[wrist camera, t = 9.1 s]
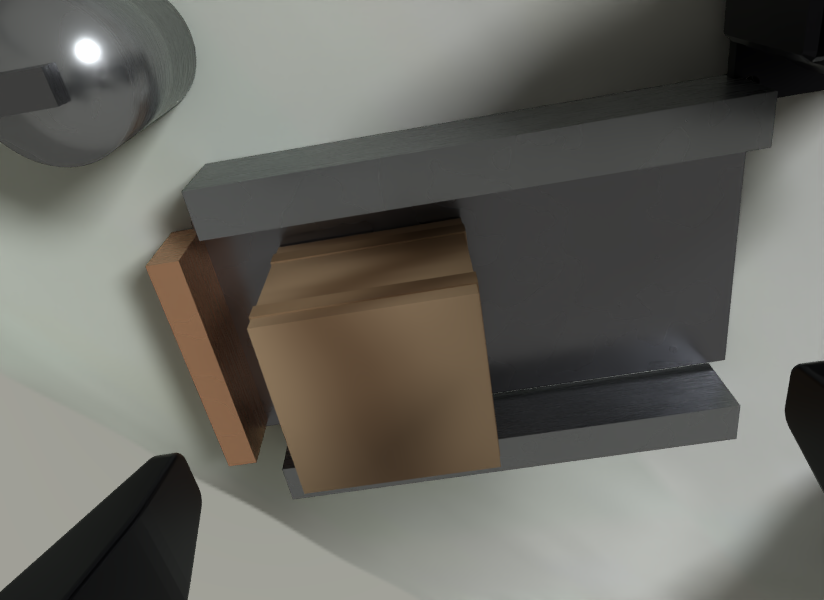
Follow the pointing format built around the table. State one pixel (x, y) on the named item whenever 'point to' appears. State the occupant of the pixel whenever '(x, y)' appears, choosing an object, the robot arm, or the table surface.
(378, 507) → the table surface
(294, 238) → the bay
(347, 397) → the brown block
